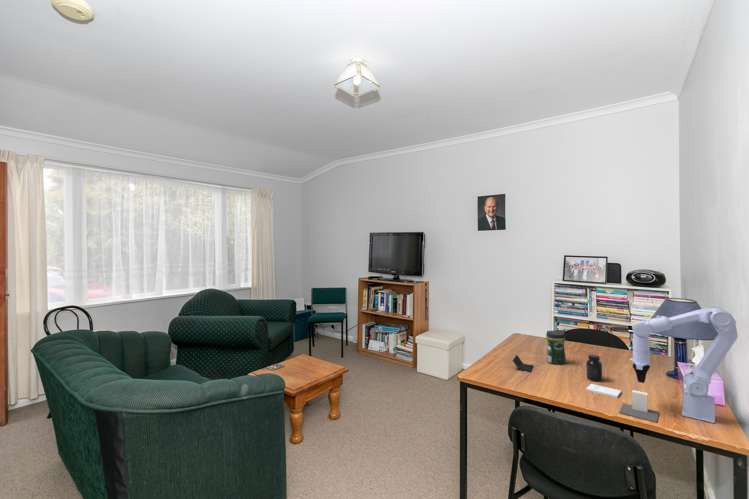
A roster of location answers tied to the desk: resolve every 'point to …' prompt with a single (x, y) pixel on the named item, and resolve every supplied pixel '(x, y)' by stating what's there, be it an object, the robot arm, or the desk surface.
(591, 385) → the external hard drive
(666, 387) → the desk surface
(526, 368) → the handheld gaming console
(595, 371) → the supplement bottle
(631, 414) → the mat
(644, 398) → the slab
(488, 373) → the desk surface
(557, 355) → the coffee jar
